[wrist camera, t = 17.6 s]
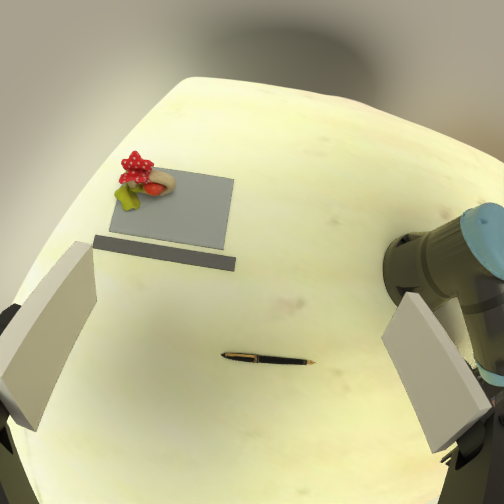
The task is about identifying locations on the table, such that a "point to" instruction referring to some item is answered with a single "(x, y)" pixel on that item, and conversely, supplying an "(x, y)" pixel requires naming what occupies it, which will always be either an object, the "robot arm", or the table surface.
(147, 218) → the mat
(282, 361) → the fountain pen
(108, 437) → the table surface
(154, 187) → the bird rattle
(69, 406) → the table surface
